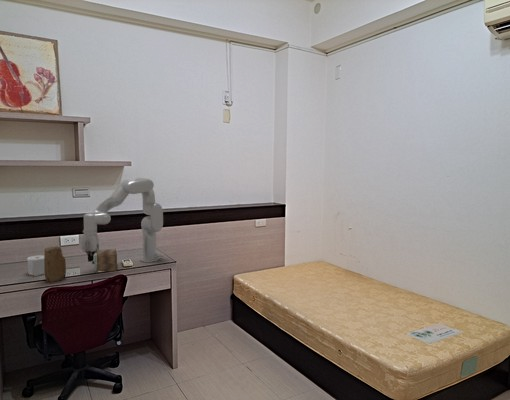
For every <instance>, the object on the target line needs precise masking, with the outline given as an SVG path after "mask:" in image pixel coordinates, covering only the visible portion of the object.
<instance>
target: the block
mask: <svg viewBox="0 0 510 400" xmlns="http://www.w3.org/2000/svg"><path fill="white" fill-rule="evenodd" d="M43 255H44V273H45V274H44V278H45V281H46V282H50V283H51V282H52V283H53V282H58V281H61V280H62V281H63V280H64V279H65V278H66V273H67V266H66V265H67V264H66V258H65V256H64V255H63V251H62V248H61V246H58V245H57V246H49V247H46V248H44V254H43Z"/></svg>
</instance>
